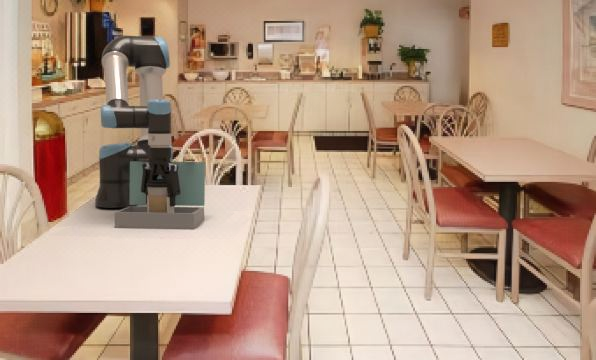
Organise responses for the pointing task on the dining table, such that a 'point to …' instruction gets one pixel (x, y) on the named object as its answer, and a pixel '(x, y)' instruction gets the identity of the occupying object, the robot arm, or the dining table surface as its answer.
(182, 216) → the grey shallow open piece
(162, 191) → the coffee cup
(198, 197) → the cover
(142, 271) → the dining table surface
